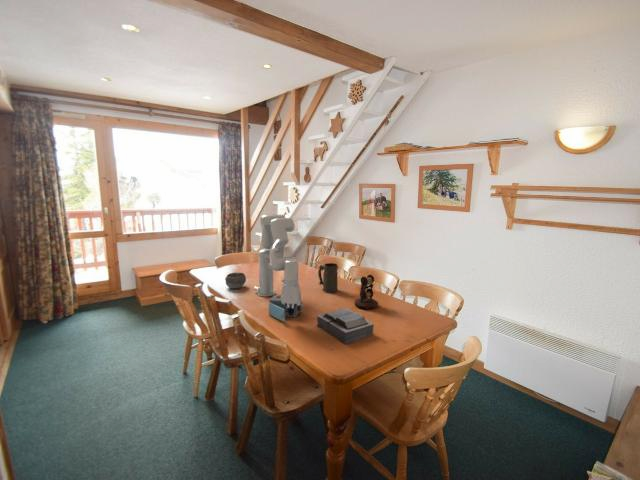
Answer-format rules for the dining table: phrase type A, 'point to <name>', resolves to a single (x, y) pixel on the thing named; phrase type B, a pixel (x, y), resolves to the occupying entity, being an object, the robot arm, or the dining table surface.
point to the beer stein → (329, 277)
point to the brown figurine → (366, 293)
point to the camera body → (277, 301)
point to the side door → (277, 312)
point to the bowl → (235, 280)
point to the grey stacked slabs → (345, 325)
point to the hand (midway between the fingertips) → (291, 314)
